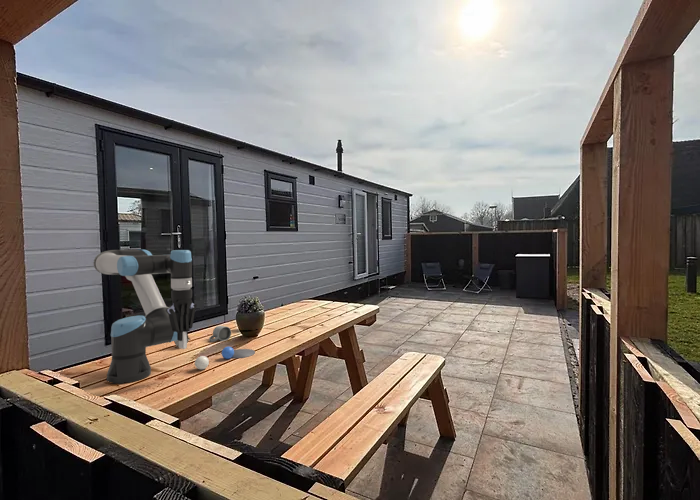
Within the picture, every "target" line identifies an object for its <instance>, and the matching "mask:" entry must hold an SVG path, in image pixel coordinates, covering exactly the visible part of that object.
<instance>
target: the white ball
mask: <svg viewBox="0 0 700 500" xmlns="http://www.w3.org/2000/svg"><path fill="white" fill-rule="evenodd" d="M209 363H210V360H209V358H208V356H205V355H200V356H198V357H197V358H196V359H195V361H194V367H196V369H198V370H205V369H206V368H208V367H209Z"/></svg>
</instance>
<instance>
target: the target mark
mask: <svg viewBox="0 0 700 500" xmlns="http://www.w3.org/2000/svg"><path fill="white" fill-rule="evenodd" d="M233 350H234V355H233V356H232V357H231V358H230V359H244V358H248V357H251V356H254V355H255V354H256V351H255V350H254V349H250V348H238V349H233Z"/></svg>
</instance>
